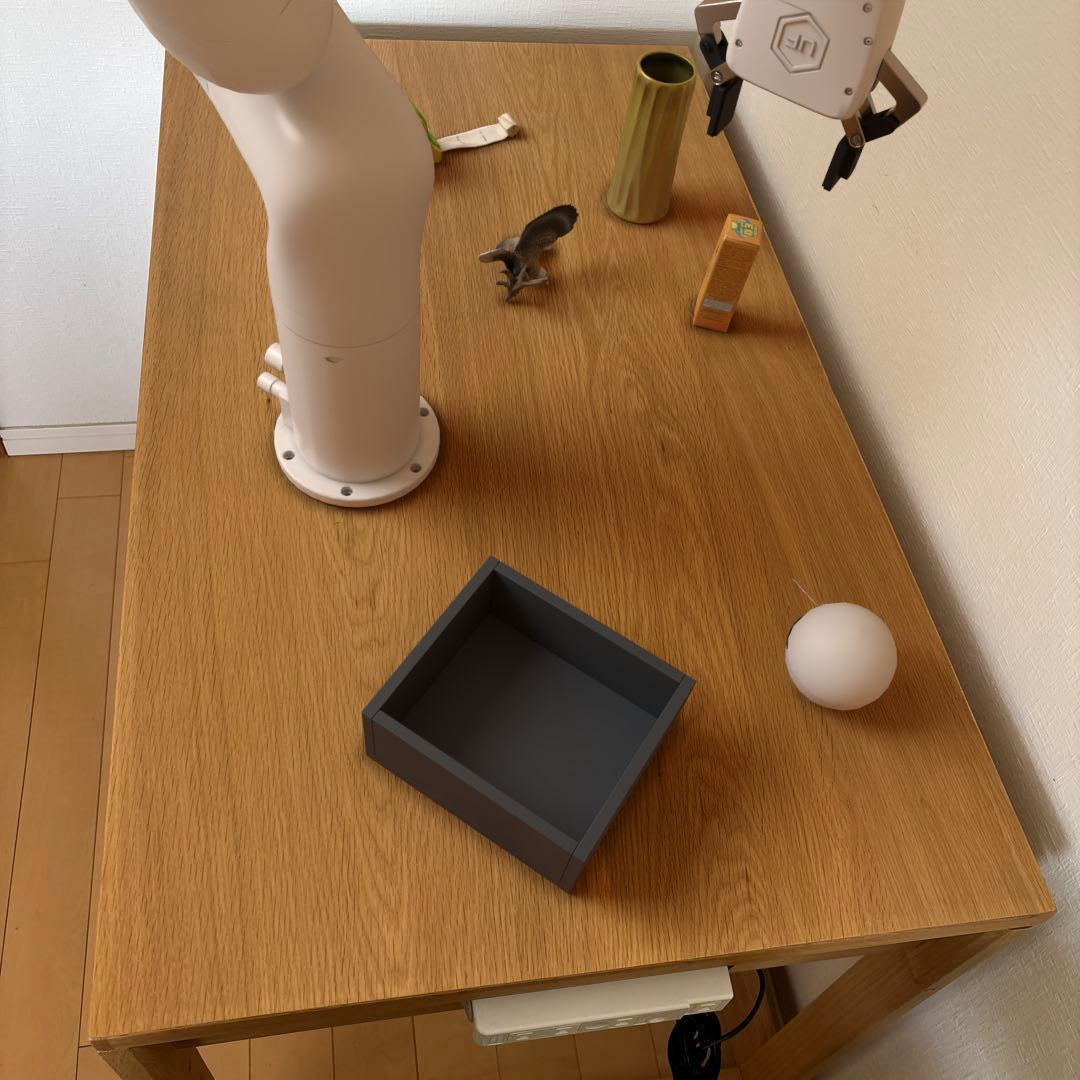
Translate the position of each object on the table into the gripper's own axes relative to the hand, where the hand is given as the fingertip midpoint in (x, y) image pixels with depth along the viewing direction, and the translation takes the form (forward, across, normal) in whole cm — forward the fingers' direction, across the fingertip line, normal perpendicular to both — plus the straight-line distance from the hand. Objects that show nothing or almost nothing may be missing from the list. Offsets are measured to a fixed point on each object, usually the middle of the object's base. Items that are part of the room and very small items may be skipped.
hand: (775, 153), depth 77 cm
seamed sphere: (+17, +22, -26) cm, 38 cm away
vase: (+17, -14, +8) cm, 24 cm away
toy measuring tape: (+17, -34, +1) cm, 38 cm away
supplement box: (+17, -1, 0) cm, 17 cm away
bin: (+17, +8, -43) cm, 47 cm away
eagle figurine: (+17, -17, -6) cm, 25 cm away
